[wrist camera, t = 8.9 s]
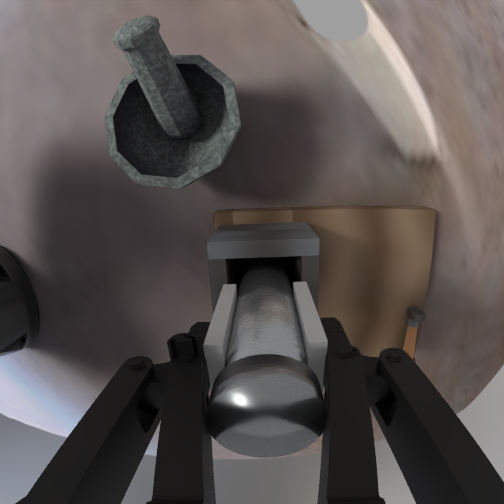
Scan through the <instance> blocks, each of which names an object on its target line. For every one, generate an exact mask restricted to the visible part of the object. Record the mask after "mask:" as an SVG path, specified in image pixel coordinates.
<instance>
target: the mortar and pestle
mask: <svg viewBox="0 0 504 504" xmlns="http://www.w3.org/2000/svg"><path fill="white" fill-rule="evenodd" d="M159 27H160V23H159V21H158V19H157V18H155V17H152V16H143V17H139V18H136V19H134V20H132V21H130V22H128V23H126V24H125V25H123V26H122V27H121V28H120V29H119V30H118V31H117V32H116V34H115V36H114V39H113V41H114V43H115V45H116V47H118V48H119V49H121V50H123V51H124V52H125V54H126V56H127V59H128V61H129V63H130V65H131V67H132V69H133V71H134V72H132V73H131V74H129V75H128V76H126V77H125V78H124V79H123V80H122V81H121V83H120V85H119V87H118V89H117V91H116V93H115V95H114V98H113V100H112V102H111V104H110V106H109V108H108V110H107V113H106V115H105V126H106V134H107V142H108V149H109V155H110V158H111V159H112V160H113V161H114V162H115V163H116V164H117V165H118V166H119V167H120V168H121V169H122V170H123V171H124V172H125V173H126V174H127V175H128V176H129V177H130V178H131V179H132V180H134V181H135V182H136V183H137V184H139V185H150V186H160V187H169V188H178V189H180V188H184V187H186V186H188V185H189V184H191V183H193V182H195V181H196V180H198V179H200V178H202V177H203V176H205V175H207V174H209V173H211V172H212V171H214V170H216V169H218V168H220V167H221V166H223V164H224V161H225V159H226V157H227V155H228V153H229V151H230V149H231V147H232V145H233V143H234V141H235V140H236V138H237V136H238V134H239V132H240V130H241V128H242V123H241V118H240V112H239V107H238V101H237V96H236V90H235V86H234V83H233V81H232V80H231V79H230V78H229V77H228V76H226V75H225V74H224V73H223V72H221V71H220V70H219V69H218V68H216V67H215V66H214V65H213V64H211V63H210V62H209V61H207V60H206V59H205V58H204V57H202V56H201V55H171V54H170V53H169V51H168V49H167V47H166V45H165V43H164V41H163V40H162V38H161V36H160V34H159Z"/></svg>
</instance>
